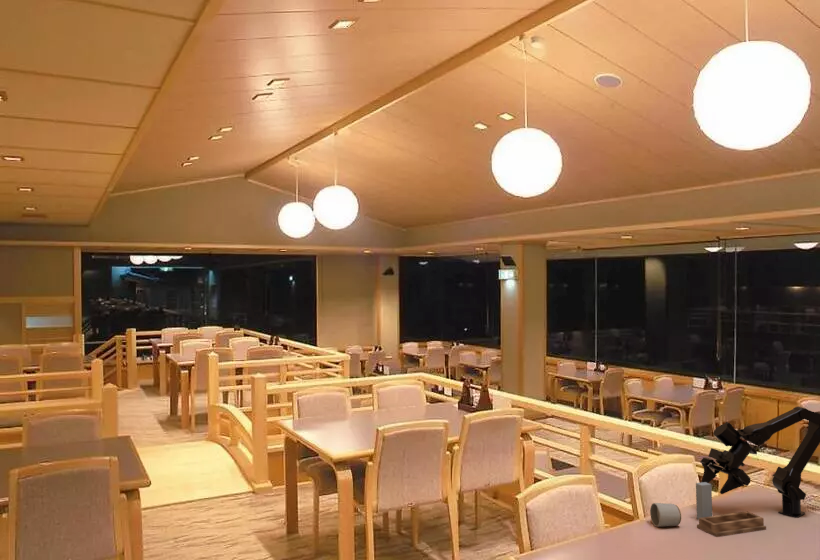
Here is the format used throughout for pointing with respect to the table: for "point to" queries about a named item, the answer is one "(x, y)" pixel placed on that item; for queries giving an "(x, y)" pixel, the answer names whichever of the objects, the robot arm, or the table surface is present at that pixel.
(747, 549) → the table surface
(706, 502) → the tall grey pillar block
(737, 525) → the open rectangular wooden box
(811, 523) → the table surface
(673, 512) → the ceramic mug
